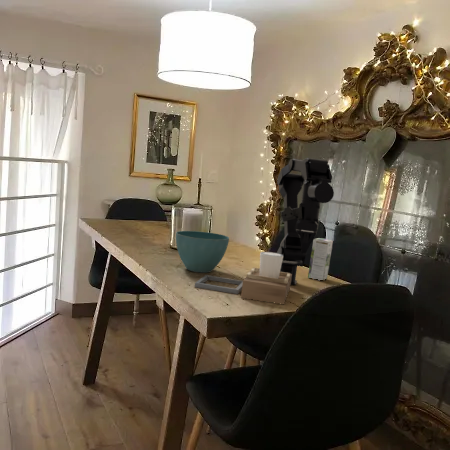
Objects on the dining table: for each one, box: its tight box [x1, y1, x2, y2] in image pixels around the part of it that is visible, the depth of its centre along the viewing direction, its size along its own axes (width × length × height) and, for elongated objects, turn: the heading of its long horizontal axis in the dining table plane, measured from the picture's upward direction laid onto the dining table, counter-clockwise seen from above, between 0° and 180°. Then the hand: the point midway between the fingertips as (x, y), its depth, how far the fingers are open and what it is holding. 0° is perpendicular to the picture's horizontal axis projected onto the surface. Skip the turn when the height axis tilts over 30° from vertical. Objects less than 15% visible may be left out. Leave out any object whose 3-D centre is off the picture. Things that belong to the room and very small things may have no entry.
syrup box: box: [307, 237, 334, 281], centre depth 174 cm, size 6×6×14 cm
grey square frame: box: [194, 274, 243, 295], centre depth 147 cm, size 13×13×1 cm
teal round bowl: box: [175, 230, 230, 274], centre depth 166 cm, size 18×18×12 cm
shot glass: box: [259, 251, 283, 278], centre depth 143 cm, size 7×7×7 cm
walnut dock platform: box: [240, 267, 292, 305], centre depth 143 cm, size 20×12×6 cm, turn 167°
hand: (304, 251), depth 147 cm, fingers open, 9 cm apart
